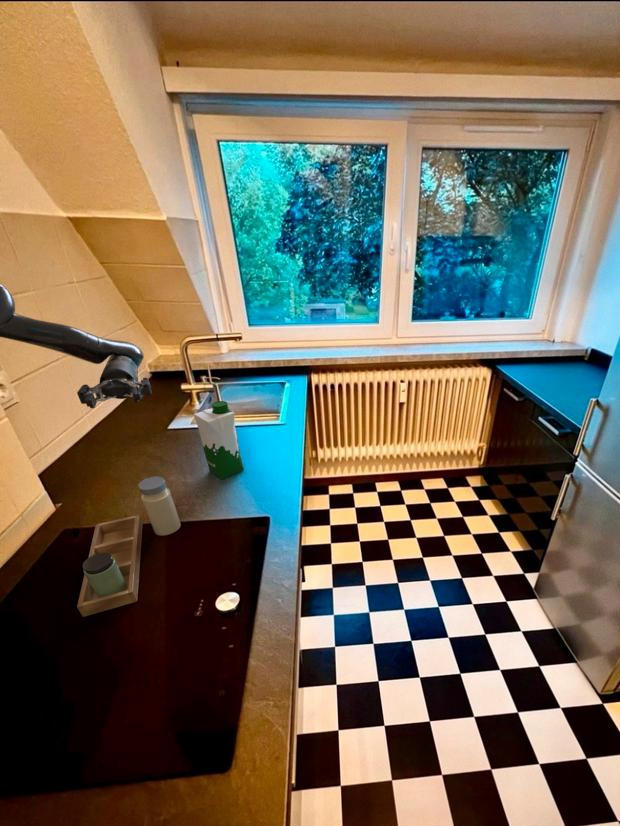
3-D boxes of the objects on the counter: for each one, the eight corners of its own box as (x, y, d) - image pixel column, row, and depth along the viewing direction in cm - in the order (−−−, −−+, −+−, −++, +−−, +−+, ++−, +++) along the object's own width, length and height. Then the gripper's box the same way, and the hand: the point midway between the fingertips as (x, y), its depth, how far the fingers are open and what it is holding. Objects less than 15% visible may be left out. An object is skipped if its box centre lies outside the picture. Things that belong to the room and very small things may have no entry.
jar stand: (84, 618, 70) (76, 607, 68) (101, 535, 89) (95, 524, 87) (138, 603, 72) (132, 591, 71) (143, 525, 92) (139, 514, 90)
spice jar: (104, 606, 71) (87, 575, 67) (93, 592, 74) (76, 562, 70) (132, 589, 74) (117, 559, 70) (120, 577, 77) (106, 547, 73)
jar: (162, 540, 87) (144, 493, 80) (150, 530, 90) (131, 483, 83) (186, 527, 91) (171, 481, 84) (173, 518, 94) (158, 472, 87)
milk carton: (248, 470, 113) (236, 405, 102) (220, 482, 107) (204, 415, 96) (232, 459, 118) (219, 397, 107) (204, 471, 112) (187, 406, 101)
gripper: (80, 367, 91) (67, 388, 79) (146, 360, 96) (144, 379, 83) (92, 397, 95) (82, 422, 83) (155, 389, 100) (154, 412, 87)
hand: (113, 401), depth 83 cm, fingers open, 8 cm apart
